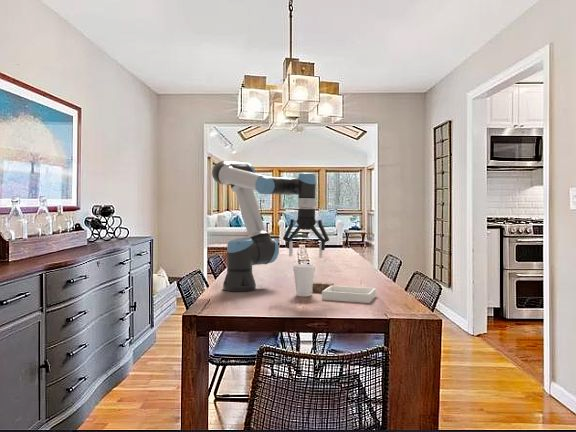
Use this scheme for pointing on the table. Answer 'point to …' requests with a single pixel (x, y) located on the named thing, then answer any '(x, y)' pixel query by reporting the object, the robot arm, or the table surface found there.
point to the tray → (349, 294)
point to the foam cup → (304, 278)
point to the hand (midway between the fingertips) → (305, 257)
